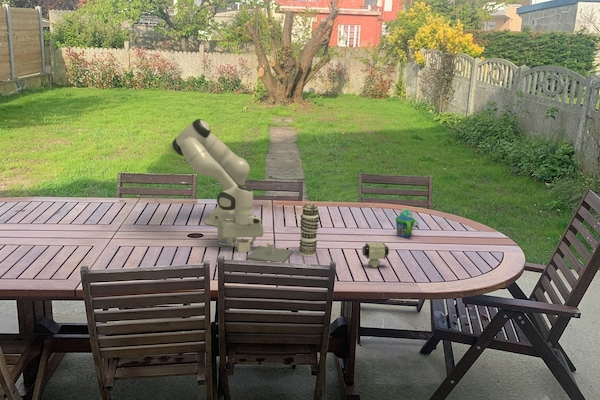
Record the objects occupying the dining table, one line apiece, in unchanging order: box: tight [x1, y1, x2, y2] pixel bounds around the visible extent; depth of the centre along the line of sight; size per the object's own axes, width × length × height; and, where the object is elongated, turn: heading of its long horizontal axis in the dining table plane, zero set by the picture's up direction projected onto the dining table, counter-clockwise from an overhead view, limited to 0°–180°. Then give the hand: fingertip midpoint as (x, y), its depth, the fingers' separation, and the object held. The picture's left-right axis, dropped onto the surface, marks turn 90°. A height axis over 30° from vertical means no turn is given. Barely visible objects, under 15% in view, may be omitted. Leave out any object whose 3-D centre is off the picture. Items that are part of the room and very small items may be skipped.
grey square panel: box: [246, 242, 294, 264], centre depth 292 cm, size 18×18×6 cm
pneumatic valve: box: [361, 242, 390, 268], centre depth 286 cm, size 6×12×12 cm, turn 99°
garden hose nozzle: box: [398, 208, 419, 231], centre depth 359 cm, size 7×18×20 cm
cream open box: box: [236, 238, 251, 253], centre depth 299 cm, size 6×6×5 cm
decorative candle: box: [298, 203, 320, 257], centre depth 297 cm, size 9×9×25 cm
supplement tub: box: [217, 213, 237, 247], centre depth 306 cm, size 10×10×15 cm
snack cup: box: [395, 215, 416, 238], centre depth 336 cm, size 16×10×10 cm
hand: (242, 245), depth 299 cm, fingers open, 8 cm apart
